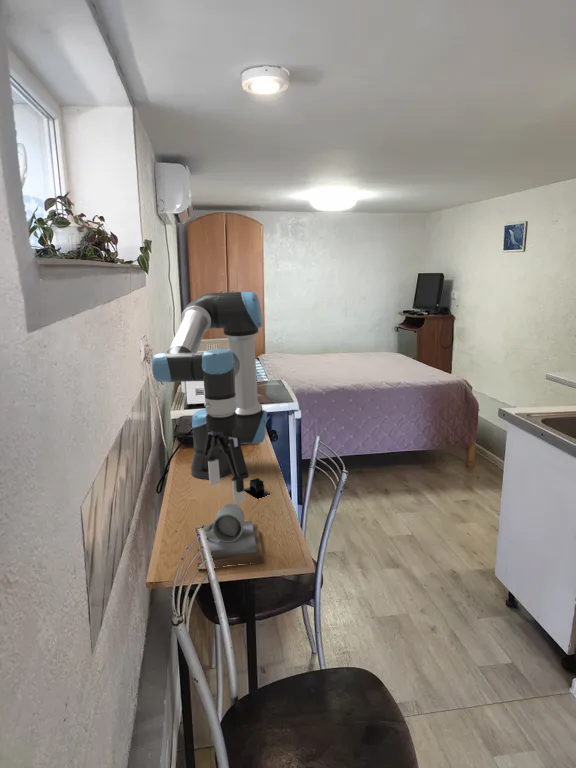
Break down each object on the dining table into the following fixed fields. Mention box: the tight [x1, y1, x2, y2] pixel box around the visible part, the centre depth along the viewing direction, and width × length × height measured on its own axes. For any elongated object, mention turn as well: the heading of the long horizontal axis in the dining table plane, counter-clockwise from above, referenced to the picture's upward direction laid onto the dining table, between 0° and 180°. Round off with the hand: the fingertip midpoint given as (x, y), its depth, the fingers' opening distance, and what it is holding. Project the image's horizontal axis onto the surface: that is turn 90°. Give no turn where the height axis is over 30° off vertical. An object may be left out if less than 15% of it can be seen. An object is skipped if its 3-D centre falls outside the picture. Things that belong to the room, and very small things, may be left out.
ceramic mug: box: [205, 503, 245, 542], centre depth 127 cm, size 11×8×8 cm
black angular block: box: [244, 477, 271, 500], centre depth 162 cm, size 12×7×5 cm, turn 36°
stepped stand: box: [197, 520, 264, 569], centre depth 128 cm, size 16×16×4 cm
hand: (226, 492), depth 126 cm, fingers open, 13 cm apart
